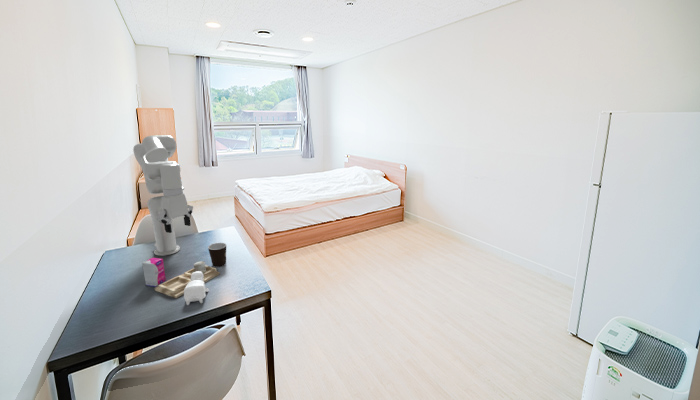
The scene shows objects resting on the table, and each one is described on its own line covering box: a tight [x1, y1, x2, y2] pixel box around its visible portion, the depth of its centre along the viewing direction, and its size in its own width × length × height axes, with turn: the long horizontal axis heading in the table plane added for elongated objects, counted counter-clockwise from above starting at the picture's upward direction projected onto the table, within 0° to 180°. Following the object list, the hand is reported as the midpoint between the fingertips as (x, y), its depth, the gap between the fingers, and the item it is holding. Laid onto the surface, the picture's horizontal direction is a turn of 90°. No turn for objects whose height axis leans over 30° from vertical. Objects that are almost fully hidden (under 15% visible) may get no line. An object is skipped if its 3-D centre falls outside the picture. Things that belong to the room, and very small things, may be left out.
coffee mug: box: [207, 242, 227, 268], centre depth 163 cm, size 12×9×10 cm
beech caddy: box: [154, 260, 221, 299], centre depth 145 cm, size 14×23×6 cm, turn 154°
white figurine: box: [183, 271, 210, 306], centre depth 134 cm, size 9×8×15 cm
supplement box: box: [142, 257, 167, 288], centre depth 142 cm, size 6×6×12 cm
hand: (178, 228), depth 143 cm, fingers open, 9 cm apart
